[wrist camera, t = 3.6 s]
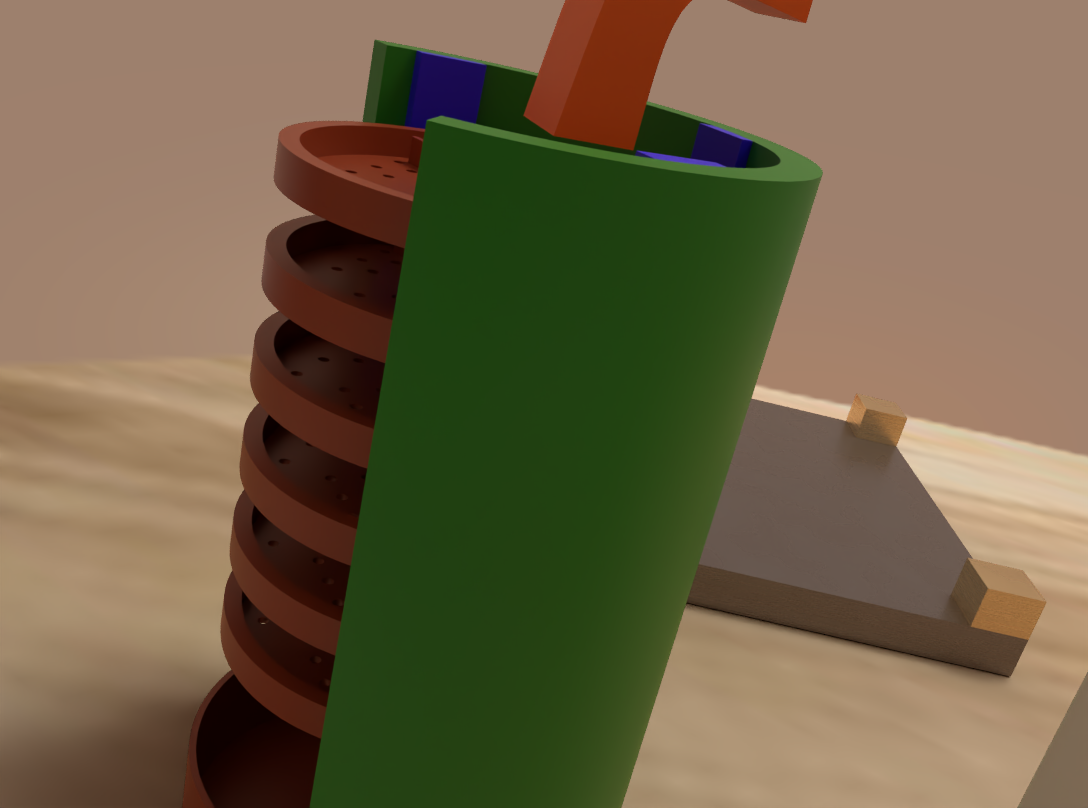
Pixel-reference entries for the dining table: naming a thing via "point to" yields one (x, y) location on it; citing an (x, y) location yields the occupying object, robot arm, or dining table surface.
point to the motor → (490, 424)
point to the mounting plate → (854, 544)
